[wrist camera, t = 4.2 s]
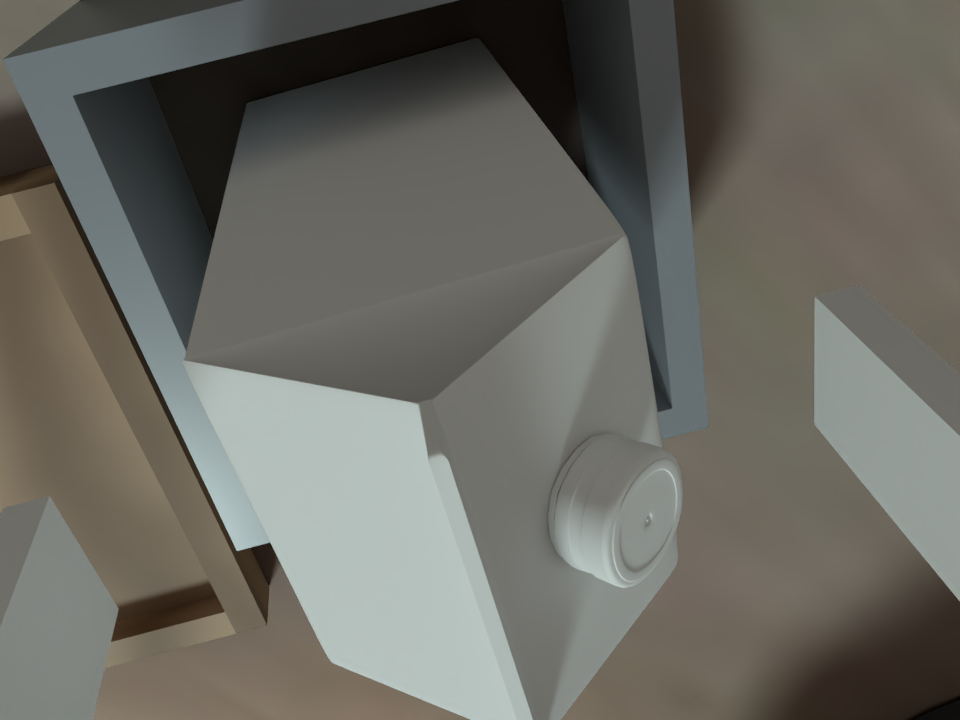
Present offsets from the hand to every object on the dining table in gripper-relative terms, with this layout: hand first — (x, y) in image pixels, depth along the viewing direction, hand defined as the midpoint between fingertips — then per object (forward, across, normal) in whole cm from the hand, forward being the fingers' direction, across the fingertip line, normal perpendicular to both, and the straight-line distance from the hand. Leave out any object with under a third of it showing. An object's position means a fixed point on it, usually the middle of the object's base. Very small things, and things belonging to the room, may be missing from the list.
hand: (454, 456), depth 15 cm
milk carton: (+15, 0, 0) cm, 15 cm away
